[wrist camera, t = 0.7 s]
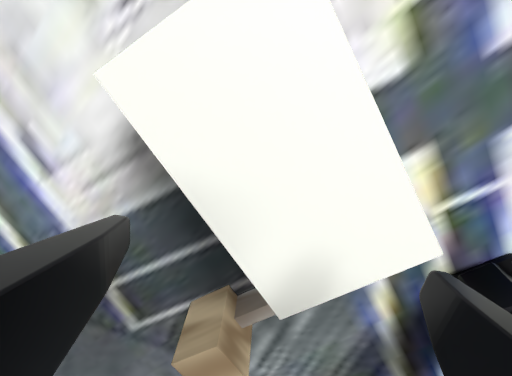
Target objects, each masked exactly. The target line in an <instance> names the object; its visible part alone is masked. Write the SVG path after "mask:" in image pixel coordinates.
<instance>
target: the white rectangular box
mask: <svg viewBox="0 0 512 376" xmlns="http://www.w3.org/2000/svg"><path fill="white" fill-rule="evenodd" d="M93 75H94V76H95V77H96V79H97V80H98V81H99V83H100V84H101V85H102V87H103V88H104V89H105V91H106V92H107V93H108V94H109V96H110V97H111V98H112V100H113V101H114V102H115V104H116V105H117V106H118V108H119V109H120V110H121V112H122V113H123V114H124V115H125V117H126V118H127V119H128V121H129V122H130V123H131V125H132V126H133V127H134V129H135V130H136V131H137V133H138V134H139V135H140V137H141V138H142V139H143V140H144V142H145V143H146V144H147V146H148V147H149V148H150V150H151V151H152V152H153V154H154V155H155V156H156V158H157V159H158V160H159V161H160V163H161V164H162V165H163V167H164V168H165V169H166V171H167V172H168V173H169V175H170V176H171V177H172V179H173V180H174V181H175V182H176V184H177V185H178V186H179V188H180V189H181V190H182V192H183V193H184V194H185V196H186V197H187V198H188V200H189V201H190V202H191V203H192V205H193V206H194V207H195V209H196V210H197V211H198V213H199V214H200V215H201V217H202V218H203V219H204V221H205V222H206V223H207V224H208V226H209V227H210V228H211V230H212V231H213V232H214V234H215V235H216V236H217V238H218V239H219V240H220V242H221V243H222V244H223V246H224V247H225V248H226V249H227V251H228V252H229V253H230V255H231V256H232V257H233V259H234V260H235V261H236V263H237V264H238V265H239V267H240V268H241V269H242V270H243V272H244V273H245V274H246V276H247V277H248V278H249V280H250V281H251V282H252V284H253V285H254V286H255V288H256V289H257V290H258V291H259V293H260V294H261V295H262V297H263V298H264V299H265V301H266V302H267V303H268V305H269V306H270V307H271V309H272V310H273V311H274V312H275V314H276V315H277V316H278V318H279V319H280V320H281V319H284V318H286V317H289V316H291V315H294V314H296V313H299V312H301V311H304V310H306V309H309V308H311V307H314V306H316V305H319V304H321V303H324V302H326V301H329V300H331V299H334V298H336V297H339V296H341V295H344V294H346V293H349V292H351V291H354V290H356V289H359V288H361V287H364V286H366V285H369V284H371V283H374V282H376V281H379V280H381V279H384V278H386V277H389V276H391V275H394V274H396V273H399V272H401V271H404V270H406V269H409V268H411V267H414V266H416V265H419V264H421V263H424V262H426V261H429V260H431V259H434V258H436V257H439V256H441V255H444V254H443V252H442V250H441V248H440V246H439V243H438V241H437V239H436V237H435V234H434V232H433V230H432V228H431V225H430V223H429V221H428V219H427V216H426V214H425V212H424V210H423V208H422V205H421V203H420V201H419V199H418V196H417V194H416V192H415V190H414V187H413V185H412V183H411V181H410V179H409V176H408V174H407V172H406V170H405V167H404V165H403V163H402V161H401V158H400V156H399V154H398V152H397V149H396V147H395V145H394V143H393V141H392V138H391V136H390V134H389V132H388V129H387V127H386V125H385V123H384V120H383V118H382V116H381V114H380V111H379V109H378V107H377V105H376V103H375V100H374V98H373V96H372V94H371V91H370V89H369V87H368V85H367V82H366V80H365V78H364V76H363V74H362V71H361V69H360V67H359V65H358V62H357V60H356V58H355V56H354V53H353V51H352V49H351V47H350V44H349V42H348V40H347V38H346V36H345V33H344V31H343V29H342V27H341V24H340V22H339V20H338V18H337V15H336V13H335V11H334V9H333V7H332V4H331V2H330V0H189V1H188V2H186V3H185V4H184V5H183V6H181V7H180V8H179V9H177V10H176V11H175V12H173V13H172V14H171V15H169V16H168V17H167V18H165V19H164V20H163V21H161V22H160V23H159V24H158V25H156V26H155V27H154V28H152V29H151V30H150V31H148V32H147V33H146V34H144V35H143V36H142V37H140V38H139V39H138V40H136V41H135V42H134V43H133V44H131V45H130V46H129V47H127V48H126V49H125V50H123V51H122V52H121V53H119V54H118V55H117V56H115V57H114V58H113V59H112V60H110V61H109V62H108V63H106V64H105V65H104V66H102V67H101V68H100V69H98V70H97V71H96V72H94V73H93Z"/></svg>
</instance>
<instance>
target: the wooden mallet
mask: <svg viewBox="0 0 512 376" xmlns="http://www.w3.org/2000/svg"><path fill="white" fill-rule="evenodd" d="M274 315H276V314H275V312H274V311H273V310H272V309H271V307H270V306H269V305H268V303H267V302H266V301H265V299H264V298H263V297H262V295H261V294H260V293H259V291H258V290H257V289H256V288H254V289H252V290H250V291H248V292H245V293H243V294H241V295H238V296H237V295H236V294H235V292H234V291H233V290H232V289H231V287H230V286H229V285H227V286H225V287H223V288H221V289H218V290H216V291H214V292H212V293H210V294H207V295H205V296H203V297H201V298H199V299H196V300H194V301H192V302H191V304H190V307H189V310H188V313H187V316H186V320H185V323H184V326H183V329H182V332H181V335H180V338H179V342H178V345H177V348H176V351H175V354H174V357H173V360H172V363H171V365H172V366H173V367H174V368H175V369H176V370H177V371H178V372H179V373H180V374H181V375H182V376H249V362H250V349H251V335H252V324H254V323H257V322H259V321H262V320H264V319H266V318H269V317H271V316H274Z"/></svg>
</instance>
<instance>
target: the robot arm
mask: <svg viewBox="0 0 512 376" xmlns="http://www.w3.org/2000/svg"><path fill="white" fill-rule="evenodd" d="M129 244H130V220H129V218H128V217H125V216H119V215H113V216H110V217H107V218H104V219H101V220H98V221H96V222H93V223H90V224H87V225H84V226H81V227H79V228H76V229H73V230H70V231H67V232H64V233H62V234H59V235H56V236H53V237H50V238H47V239H45V240H42V241H39V242H36V243H33V244H30V245H27V246H25V247H22V248H19V249H16V250H13V251H10V252H8V253H5V254H2V255H0V376H53V375H54V373H55V372H56V370H57V369H58V367H59V365H60V364H61V362H62V361H63V359H64V358H65V356H66V355H67V353H68V351H69V350H70V348H71V347H72V345H73V344H74V342H75V341H76V339H77V338H78V336H79V334H80V333H81V331H82V330H83V328H84V327H85V325H86V324H87V322H88V320H89V319H90V317H91V316H92V314H93V313H94V311H95V310H96V308H97V307H98V305H99V303H100V302H101V300H102V299H103V297H104V295H105V294H106V292H107V290H108V288H109V286H110V285H111V283H112V280H113V278H114V276H115V274H116V272H117V270H118V268H119V266H120V264H121V262H122V260H123V258H124V256H125V254H126V252H127V250H128V248H129ZM419 297H420V302H421V306H422V310H423V313H424V317H425V321H426V324H427V328H428V331H429V335H430V339H431V342H432V345H433V348H434V351H435V354H436V357H437V359H438V362H439V365H440V367H441V370H442V372H443V375H444V376H512V254H508V255H506V256H503V257H500V258H498V259H495V260H492V261H490V262H487V263H485V264H482V265H479V266H477V267H474V268H471V269H469V270H466V271H463V272H461V273H458V274H456V275H453V276H451V275H450V274H448V273H446V272H441V271H435V270H434V271H431V272H430V273H429V274H428V276H427V278H426V280H425V282H424V284H423V286H422V288H421V291H420V295H419Z"/></svg>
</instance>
